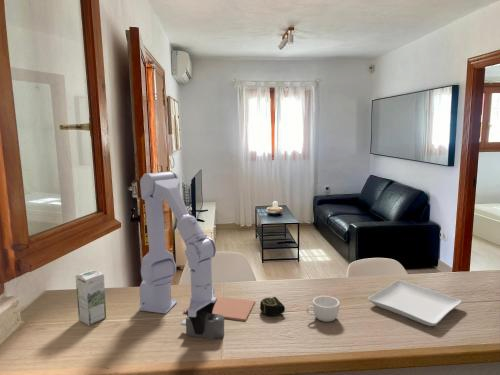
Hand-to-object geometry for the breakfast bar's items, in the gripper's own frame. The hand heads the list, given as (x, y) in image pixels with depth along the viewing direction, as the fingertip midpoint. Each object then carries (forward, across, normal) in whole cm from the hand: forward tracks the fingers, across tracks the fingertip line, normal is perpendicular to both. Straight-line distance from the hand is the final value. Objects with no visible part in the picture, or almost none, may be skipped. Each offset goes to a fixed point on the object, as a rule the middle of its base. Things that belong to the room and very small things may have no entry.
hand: (202, 328), depth 100 cm
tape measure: (+2, +17, -17) cm, 24 cm away
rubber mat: (+1, +15, 0) cm, 15 cm away
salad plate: (+2, +30, -60) cm, 67 cm away
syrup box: (+2, -1, +35) cm, 35 cm away
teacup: (+2, +16, -32) cm, 36 cm away
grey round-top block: (+1, 0, 0) cm, 1 cm away
